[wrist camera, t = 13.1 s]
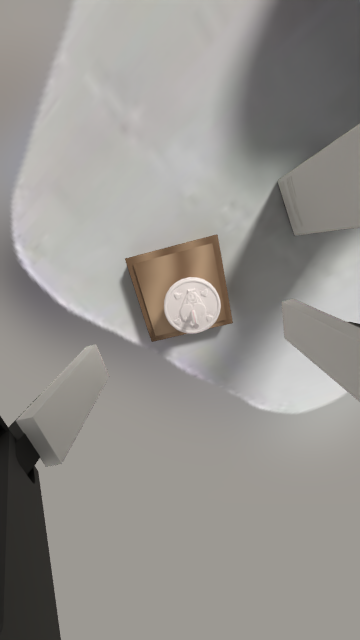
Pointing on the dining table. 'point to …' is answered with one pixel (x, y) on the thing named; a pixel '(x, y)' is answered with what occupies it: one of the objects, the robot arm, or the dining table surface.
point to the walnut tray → (169, 267)
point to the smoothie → (192, 305)
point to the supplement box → (325, 188)
